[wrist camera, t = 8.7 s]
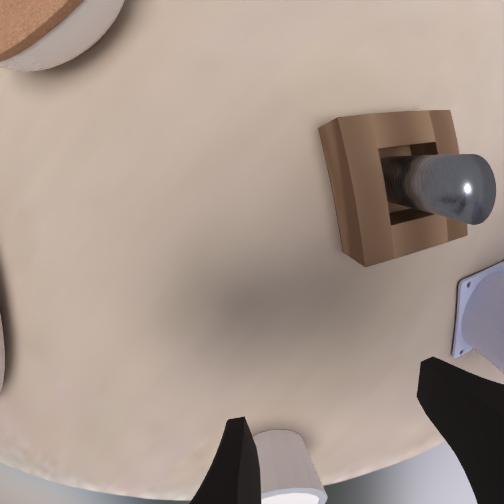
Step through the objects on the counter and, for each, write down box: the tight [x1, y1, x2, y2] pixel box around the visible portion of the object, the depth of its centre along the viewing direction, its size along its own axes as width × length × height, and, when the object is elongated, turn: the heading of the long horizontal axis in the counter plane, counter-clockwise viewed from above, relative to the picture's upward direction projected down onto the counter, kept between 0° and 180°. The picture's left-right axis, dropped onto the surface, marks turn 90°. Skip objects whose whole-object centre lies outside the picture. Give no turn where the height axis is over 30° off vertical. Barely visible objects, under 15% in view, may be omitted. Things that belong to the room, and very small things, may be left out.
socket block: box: [318, 110, 467, 267], centre depth 16 cm, size 8×8×4 cm
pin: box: [380, 154, 496, 225], centre depth 13 cm, size 3×3×8 cm
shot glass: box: [253, 429, 327, 504], centre depth 20 cm, size 7×7×7 cm
